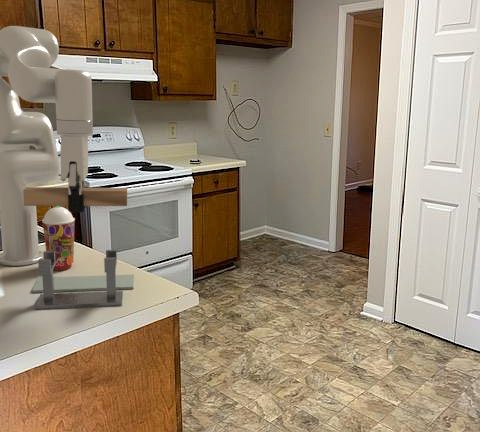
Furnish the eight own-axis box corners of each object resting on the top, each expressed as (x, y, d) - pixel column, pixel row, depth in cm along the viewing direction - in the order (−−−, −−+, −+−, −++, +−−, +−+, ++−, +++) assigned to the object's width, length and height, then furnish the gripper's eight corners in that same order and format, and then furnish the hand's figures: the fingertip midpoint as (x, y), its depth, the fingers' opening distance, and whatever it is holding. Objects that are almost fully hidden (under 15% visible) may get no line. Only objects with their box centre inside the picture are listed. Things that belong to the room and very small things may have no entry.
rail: (27, 202, 111) (26, 187, 111) (127, 202, 116) (127, 188, 115) (24, 205, 108) (23, 190, 107) (126, 206, 112) (126, 191, 112)
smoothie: (66, 273, 133) (63, 201, 129) (38, 270, 135) (34, 198, 130) (82, 264, 141) (79, 195, 137) (55, 261, 143) (52, 193, 138)
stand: (40, 297, 117) (38, 251, 115) (122, 293, 121) (122, 249, 118) (34, 309, 110) (31, 260, 108) (121, 305, 114) (121, 258, 112)
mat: (39, 279, 128) (39, 277, 128) (133, 276, 133) (133, 274, 133) (32, 292, 119) (31, 290, 119) (133, 289, 124) (133, 286, 124)
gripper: (62, 125, 115) (65, 202, 119) (50, 130, 99) (53, 218, 104) (96, 126, 117) (97, 202, 121) (88, 131, 101) (91, 218, 105)
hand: (77, 209), depth 112 cm, fingers closed on rail, 3 cm apart
